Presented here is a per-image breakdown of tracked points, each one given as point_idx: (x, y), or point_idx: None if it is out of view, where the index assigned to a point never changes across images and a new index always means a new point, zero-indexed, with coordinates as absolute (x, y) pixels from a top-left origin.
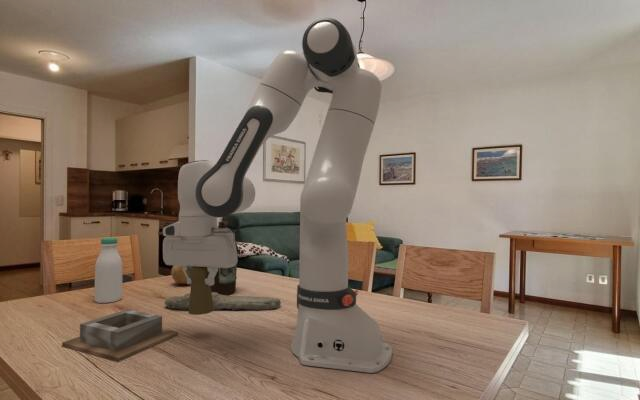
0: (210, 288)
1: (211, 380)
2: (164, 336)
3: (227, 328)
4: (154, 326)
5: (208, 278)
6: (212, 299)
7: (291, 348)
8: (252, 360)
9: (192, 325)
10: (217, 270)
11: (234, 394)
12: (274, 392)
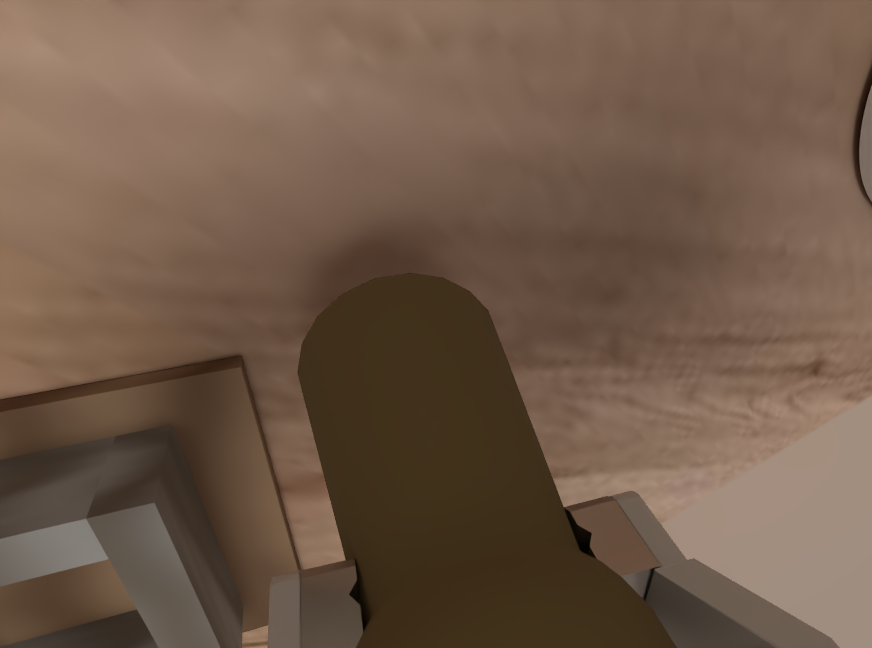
0: (537, 446)
1: (661, 475)
2: (247, 440)
3: (421, 89)
4: (180, 507)
5: None
6: (500, 356)
7: (868, 177)
8: (729, 327)
9: (138, 187)
10: (824, 642)
11: (743, 473)
12: (829, 414)
